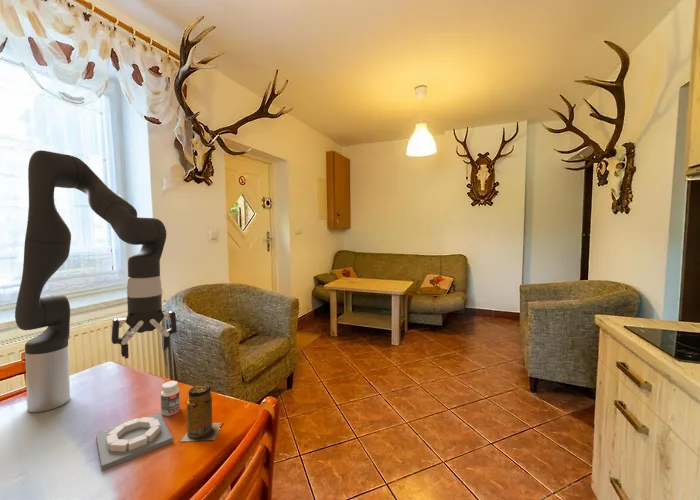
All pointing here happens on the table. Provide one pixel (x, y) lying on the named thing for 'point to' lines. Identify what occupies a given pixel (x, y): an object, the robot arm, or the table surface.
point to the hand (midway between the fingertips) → (146, 353)
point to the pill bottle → (170, 398)
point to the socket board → (133, 453)
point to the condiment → (200, 415)
